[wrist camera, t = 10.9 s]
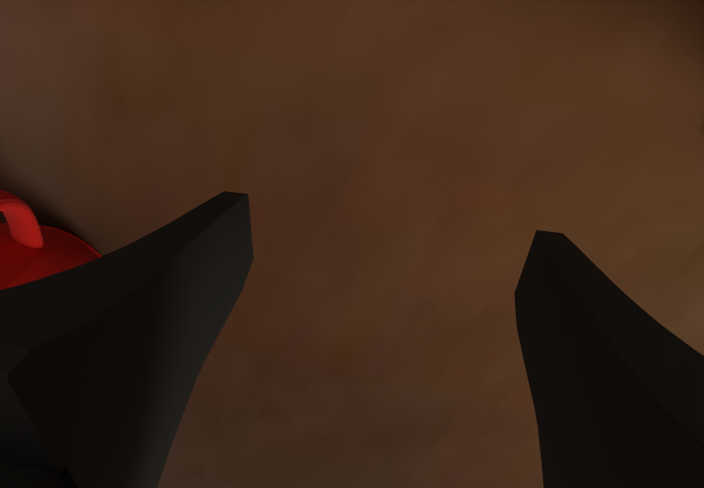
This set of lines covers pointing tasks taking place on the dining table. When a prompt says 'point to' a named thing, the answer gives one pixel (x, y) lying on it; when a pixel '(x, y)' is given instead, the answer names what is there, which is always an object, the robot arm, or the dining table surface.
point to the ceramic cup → (35, 246)
